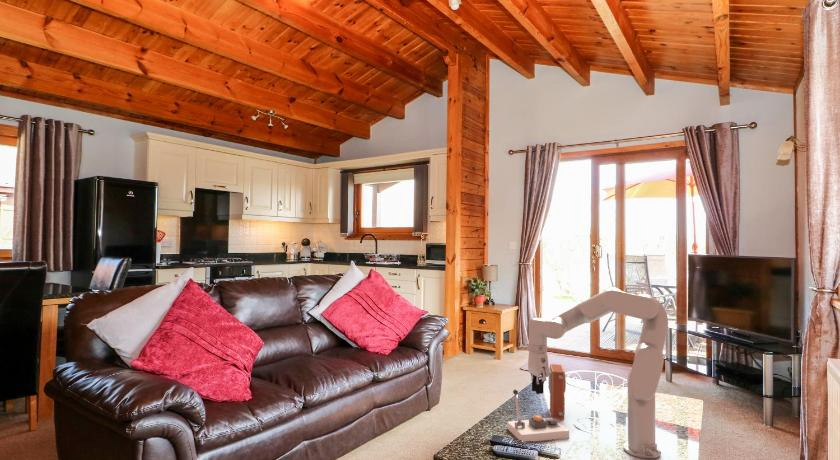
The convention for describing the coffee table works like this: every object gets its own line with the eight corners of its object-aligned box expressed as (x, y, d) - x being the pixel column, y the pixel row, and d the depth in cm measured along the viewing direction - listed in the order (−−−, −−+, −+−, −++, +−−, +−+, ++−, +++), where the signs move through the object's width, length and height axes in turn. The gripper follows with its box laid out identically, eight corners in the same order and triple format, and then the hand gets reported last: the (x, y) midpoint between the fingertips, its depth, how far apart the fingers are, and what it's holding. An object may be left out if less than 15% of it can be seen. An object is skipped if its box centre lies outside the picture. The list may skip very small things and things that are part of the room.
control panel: (562, 408, 222) (566, 420, 208) (547, 407, 224) (550, 419, 209) (562, 363, 223) (566, 372, 208) (547, 363, 224) (550, 371, 210)
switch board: (569, 437, 189) (569, 424, 190) (521, 442, 185) (521, 428, 185) (552, 424, 203) (552, 411, 203) (507, 428, 198) (507, 415, 198)
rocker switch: (557, 423, 194) (557, 420, 194) (550, 423, 193) (550, 420, 193) (552, 420, 198) (552, 418, 198) (545, 421, 197) (545, 418, 197)
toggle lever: (523, 425, 191) (518, 389, 196) (518, 426, 191) (513, 389, 196) (521, 425, 193) (516, 389, 198) (516, 426, 193) (512, 389, 198)
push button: (543, 422, 193) (543, 418, 193) (535, 423, 192) (535, 418, 192) (539, 419, 196) (539, 414, 196) (531, 420, 195) (531, 415, 195)
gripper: (555, 352, 188) (555, 397, 187) (536, 343, 203) (536, 385, 203) (538, 352, 186) (538, 399, 186) (520, 344, 202) (520, 386, 201)
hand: (537, 391), depth 194 cm, fingers open, 2 cm apart
